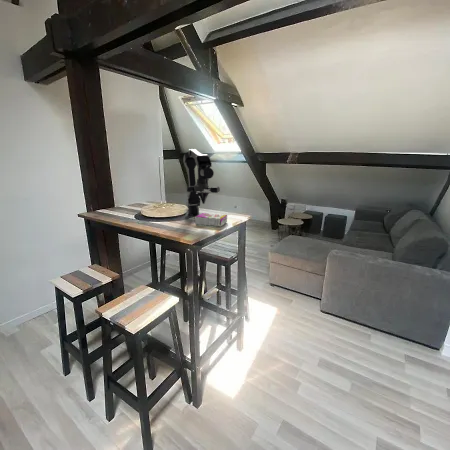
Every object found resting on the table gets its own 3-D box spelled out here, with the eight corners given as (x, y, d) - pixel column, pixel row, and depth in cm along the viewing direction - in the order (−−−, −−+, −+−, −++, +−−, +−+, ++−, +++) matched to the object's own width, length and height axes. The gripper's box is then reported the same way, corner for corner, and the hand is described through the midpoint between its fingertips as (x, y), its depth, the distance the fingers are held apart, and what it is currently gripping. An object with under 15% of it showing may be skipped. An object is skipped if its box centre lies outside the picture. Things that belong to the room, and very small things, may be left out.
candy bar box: (202, 212, 151) (227, 214, 146) (202, 219, 152) (227, 222, 147) (194, 216, 141) (220, 218, 135) (194, 224, 142) (220, 227, 137)
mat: (196, 225, 142) (196, 224, 142) (204, 219, 154) (204, 219, 154) (216, 227, 138) (216, 226, 138) (222, 221, 150) (222, 220, 150)
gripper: (181, 178, 134) (183, 205, 138) (213, 178, 129) (214, 207, 133) (190, 176, 144) (191, 202, 148) (219, 176, 139) (220, 203, 143)
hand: (203, 203), depth 143 cm, fingers closed
